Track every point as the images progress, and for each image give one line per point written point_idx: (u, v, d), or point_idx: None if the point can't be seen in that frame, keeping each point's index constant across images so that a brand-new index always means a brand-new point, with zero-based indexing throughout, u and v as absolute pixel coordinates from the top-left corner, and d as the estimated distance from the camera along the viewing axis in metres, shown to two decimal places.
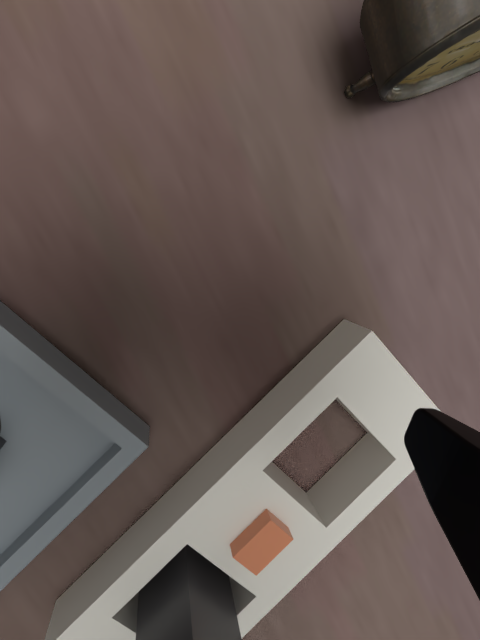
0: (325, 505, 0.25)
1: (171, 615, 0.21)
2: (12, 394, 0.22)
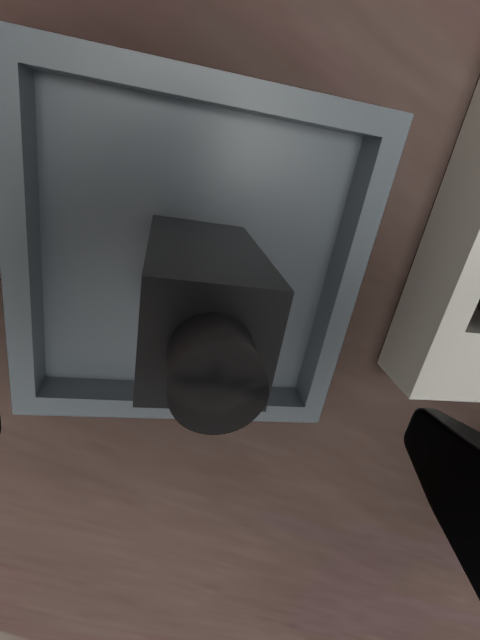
0: None
1: None
2: (216, 168, 0.16)
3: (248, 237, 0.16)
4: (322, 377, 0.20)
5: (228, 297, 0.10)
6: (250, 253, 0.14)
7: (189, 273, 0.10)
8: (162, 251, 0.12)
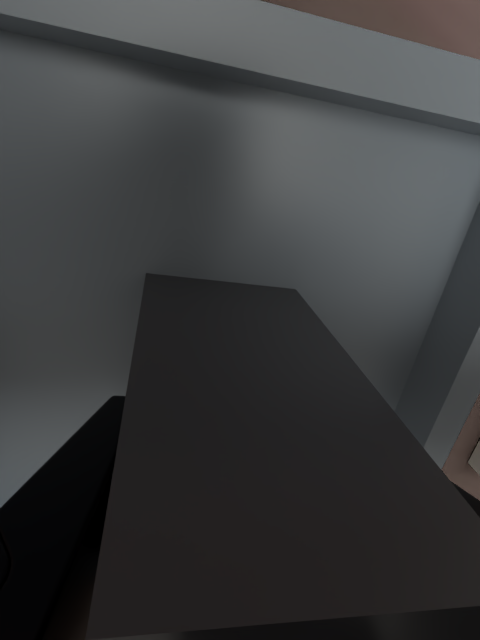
0: None
1: None
2: (254, 195, 0.09)
3: (315, 320, 0.09)
4: None
5: None
6: (341, 381, 0.07)
7: (238, 550, 0.04)
8: (160, 418, 0.05)
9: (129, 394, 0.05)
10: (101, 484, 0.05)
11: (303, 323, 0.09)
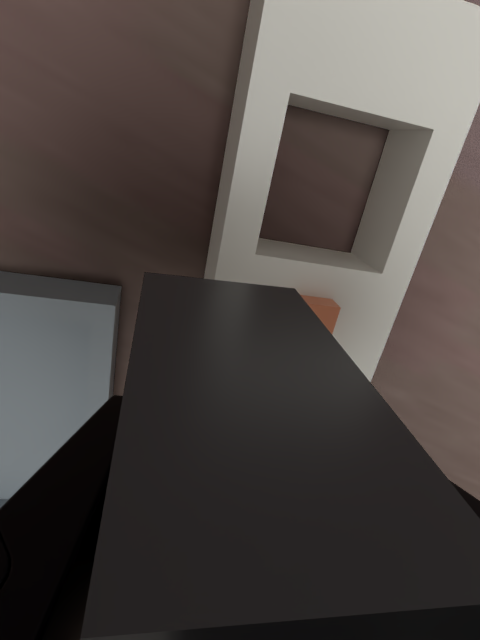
0: (373, 251, 0.19)
1: None
2: None
3: (313, 319, 0.09)
4: None
5: (358, 638, 0.03)
6: (340, 380, 0.07)
7: (236, 550, 0.04)
8: (157, 417, 0.05)
9: (127, 393, 0.05)
10: (101, 484, 0.05)
11: (302, 322, 0.09)
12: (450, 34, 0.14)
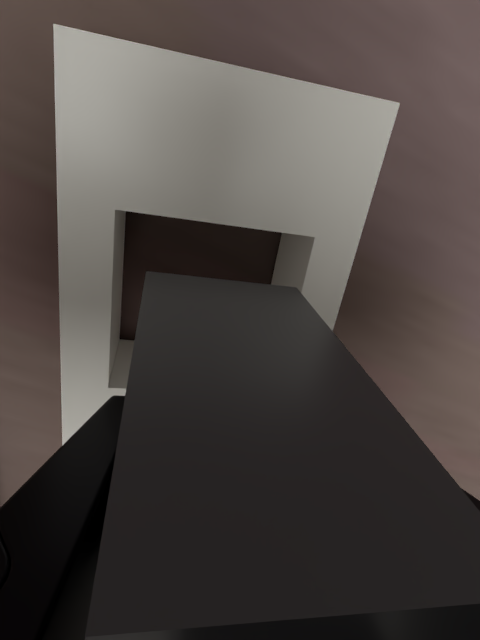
0: None
1: None
2: None
3: (315, 318, 0.09)
4: None
5: (362, 637, 0.03)
6: (343, 379, 0.07)
7: (240, 548, 0.03)
8: (161, 416, 0.05)
9: (129, 391, 0.05)
10: (101, 484, 0.05)
11: (304, 321, 0.09)
12: (319, 127, 0.11)
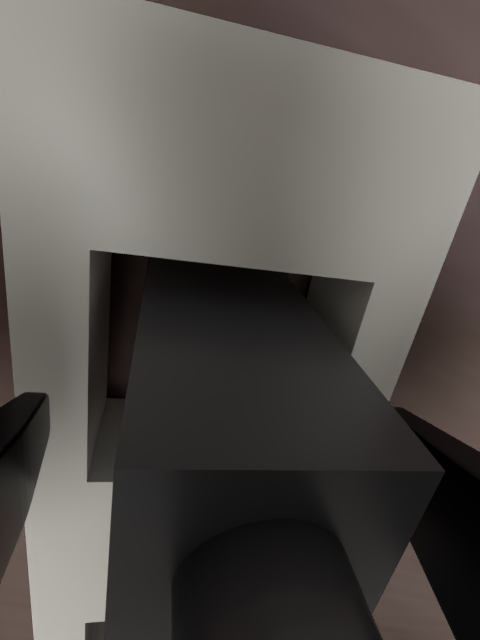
0: None
1: None
2: None
3: (296, 294, 0.10)
4: None
5: (306, 492, 0.05)
6: (313, 338, 0.08)
7: (221, 433, 0.05)
8: (163, 354, 0.06)
9: (138, 338, 0.07)
10: None
11: (286, 296, 0.10)
12: (391, 129, 0.07)
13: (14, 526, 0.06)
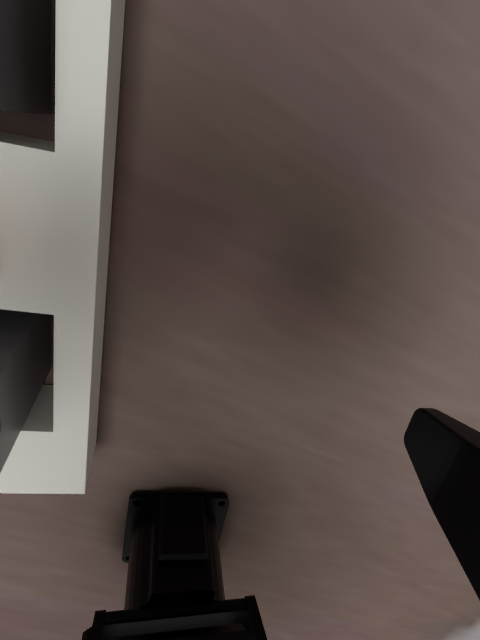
0: None
1: None
2: None
3: None
4: None
5: None
6: None
7: None
8: None
9: None
10: None
11: None
12: None
13: None
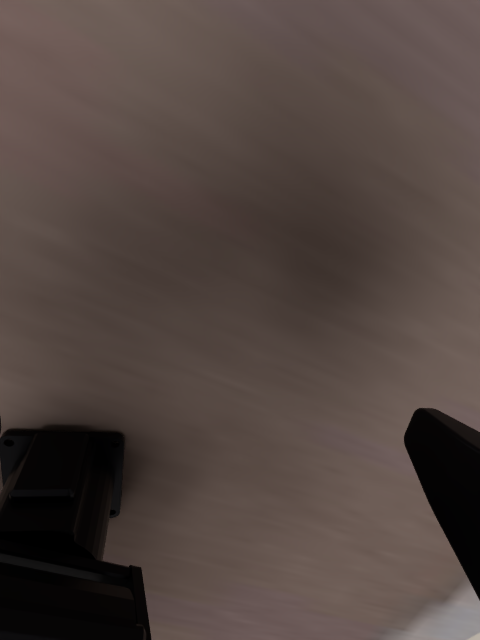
0: None
1: None
2: None
3: None
4: None
5: None
6: None
7: None
8: None
9: None
10: None
11: None
12: None
13: None
